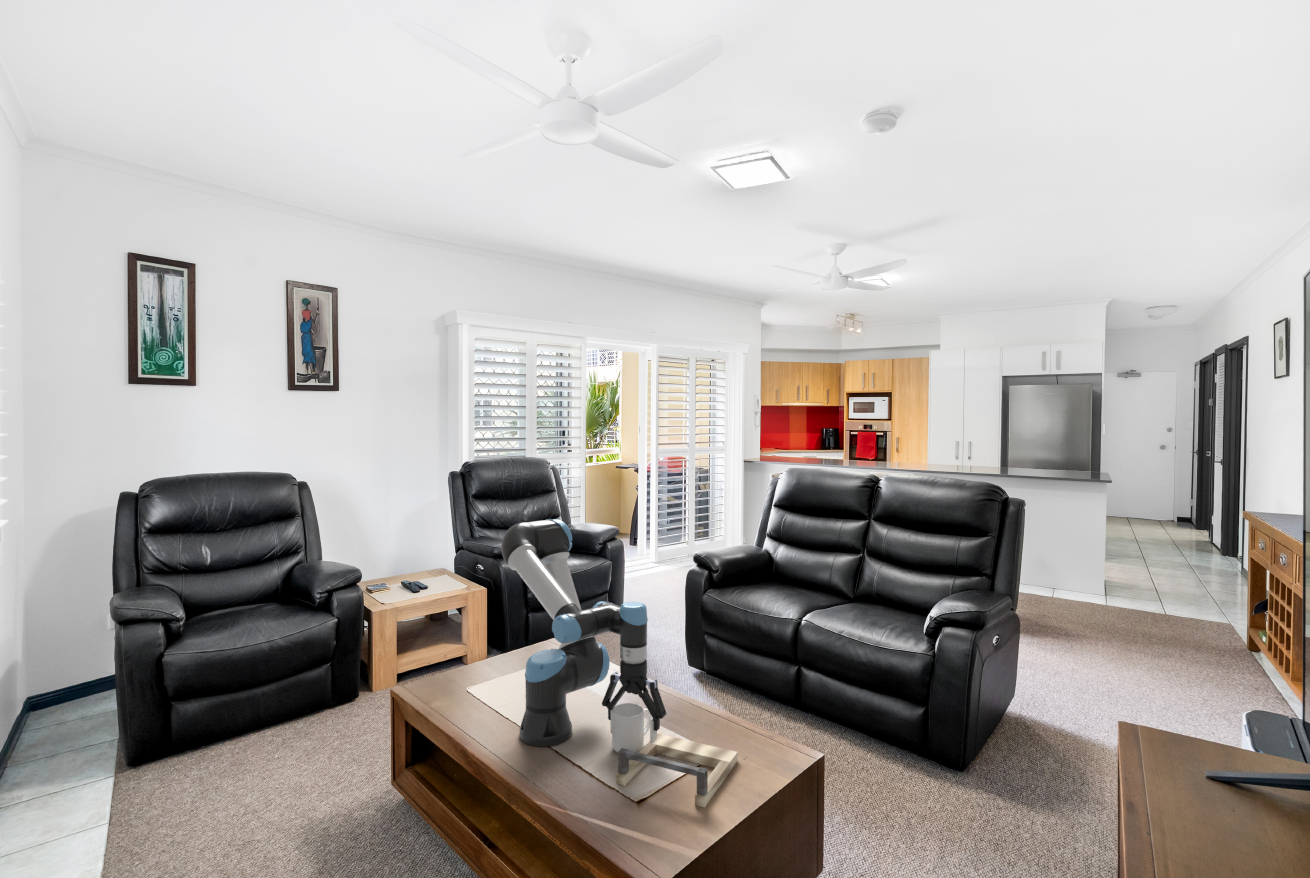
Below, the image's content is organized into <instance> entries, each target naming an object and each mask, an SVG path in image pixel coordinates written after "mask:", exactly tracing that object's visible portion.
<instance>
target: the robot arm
mask: <svg viewBox="0 0 1310 878" xmlns="http://www.w3.org/2000/svg"><path fill="white" fill-rule="evenodd" d="M572 541H573V535H572V532H571V530H570V528H569V526H568V525H567V524H566V522H564V521H562V520H561V519H557V518H556V519H555V518H554V519H552V518H547V519H545V520H543V519H541V520H534V521H533V520H532V521H527V522H525V521H523V522H519V523H515V524H514V525H511V526H510V527H509V528H508V529H507V530H506V532H505V533H504V535H503V538H502V540H501V546H500V547H501V549H500V550H501V554H502V558H503V560H504V562H505V563H506V566H508V568H509V569H511V570H512V571H516V572H517V574H518V575H519V576H520V578H521V579H522V580H523V582H524V583H525V584H526V586H527V587H528V588H529V590H530V591H531V592H532V593H533V595H534V597H535V598H536V599H537V600H538V602H539V603H540V604H541V605H542V607H543V608H544V610H545V611H546V612H547V613H548V615H549V616H550V618H551V619H552V620H553V621H552V625H551V631H552V633H553V636H554V639H555V640H556V641H557V642H558V643H560V645H559V647H558V648H551V649H543V650H540V651H537V652H535V653H533V654H532V655H531V656H529V657H528V659H527V661H526V663H525V673H524V677H525V711H524V714H523V717H522V720H521V724H520V726H519V739H520V741H521V742H523V744H526V745H529V746H532V747H541V748H542V747H551V746H556V745H559V743H560V744H562V743H564V742H566V741H567V740H569V739H570V738H571V736H572V735H571V734H573V724H572V723H573V722H572V721H571V718H570V715H569V712H568V708H567V694H570V693H574V692H576V691H579V690H582V689H586V688H588V687H592V686H596V685H597V684H598V683H601V682H602V681H604V680H605V679H606V677H607V676H608V673H609V670H610V656H609V655H610V654H609V652H608V649H607V648H606V647H605V645H604V644H603V643H601V642H597V640H596V637H595V636H598V635H601V634H606V633H613V634H617V635H619V639H620V641H619V647H620V648H619V649H620V650H619V652H620V653H619V654H620V657H619V658H620V663H619V665H620V666H619V671H620V672H619V673H620V674H619V673H618V672H617V671H615V672H614V673H612V674H610V676H609V684H608V686H607V688H606V692H605V694H604V697H603V699H602V702H601V706H603V707H606V708H607V719H608V721H610V734H611V735H612V714H613V708H614V707H615V706H616V705H618V702H619V701H620V699H621V698H623V695H624V694H625V693H627V694H633V695H638V697H639V699H641V700H642V702H643V703H644V705H645V708H647V709H648V710H649V712H650V714H651V718H650V728H649V731H650V733H649V734H650V735H649V742H650V743H652V744H653V743H654V742H655V741H656V740H657V734H658V731H659V730H660V728H661V727H660V726H661V720H662V719H664V718H665V716H666V715H667V710H666V709H665V705H664V703H663V700H662V696H661V693H660V690H659V688H658V684H659V682H658V679H653V680H649V679H648V676H647V674H648V660H647V658H648V621H649V619H648V611H647V605H646V604H644V603H643V602H639V601H627V602H624V603H621V604H620V605H618V604H614V603H612V602H610V601H598V602H597V603H595V604H594V605H593V606H592V607H591V608H587V609H582V607H581V605H580V600H579V597H578V594H577V591H576V588H575V583H574V581H573V580H574V579H573V577H572V574H571V571H570V567H569V564H568V559H569V557H570V555H571V554H570V551H571V549H572V547H573V543H572ZM618 682H620V684H621V687H620V688H619V689H618V691H617V692H616V694H615V695H614V696H613V694H614V692H615V689H616V687H617V685H618ZM647 686H648V687H647ZM649 691H650V692H649ZM612 697H613V698H612ZM570 735H571V736H570ZM569 737H570V738H569ZM568 738H569V739H568ZM565 740H566V741H565Z"/></svg>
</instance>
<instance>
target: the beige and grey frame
mask: <svg viewBox="0 0 1310 878" xmlns="http://www.w3.org/2000/svg"><path fill="white" fill-rule="evenodd" d="M656 753H659V754H658V755H660V754H662V756H664V755H666V757H669V756H670V757H669V758H673V757H674V759H677V760H681V759H682V760H681V761H685V760H687V761H686V762H689V761H691V762H690V763H693V762H695V763H694V764H697V763H699V764H698V765H701V766H706V767H709V768H714V769H713V770H712V771H711V773H710V774H709V773H708V768H705V767H697V766H695V765H694V766H693V765H690V764H686V763H682V762H678V761H673V760H670V759H665V758H662V757H657V756H654V755H657V754H656ZM738 758H739V756H738V751H735V750H731V749H727V748H722V747H718V746H714V745H710V744H704V743H701V742H696V741H692V740H687V739H682V738H680V737H674V736H671V735H666V734H662V733H657V740H656V741H655V742H654V743H653V744H652V743H650V741H648V742H647V743H646V744H645V745H643V748H642V749H641V750H640V751H639V752H634V751H630V750H628V749H624V748H621V749H620V750H619V751H618V753H617V765H618V766H617V772H616V776H615V778H616V779H615V781H616V784H617V785H620V786H624V787H625V786H626V785H628V783H629V782H630V781H631V780H633V778H635V776H636V775H637V774H638V773H639V772H640V771H641V770H642V769H643V768H644V767H645V766H646V765H650V766H656V767H659V768H662V769H668V770H669V771H670V770H671V771H675V772H680V773H682V774H687V775H690V776H695V777H696V793H694V806H696V807H701V808H704V809H706V806H707V805H708V804H709V802H710V801H711V799H712V798H713V797H714V796H715V794H716V793H717V791H718V790H719V788H720V787H721V785H722V784H723V783H724V781H725V779H726V778H727V777H728V775H729V774H730V773H731V772H732V770H733V768H734V767H735V766H736V764H737V763H738V761H739V760H738ZM645 764H646V765H645ZM708 774H709V775H708Z"/></svg>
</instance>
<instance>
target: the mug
mask: <svg viewBox="0 0 1310 878" xmlns="http://www.w3.org/2000/svg"><path fill="white" fill-rule="evenodd" d="M645 712H646V725H645ZM651 718H652V716H651V714H650V712H649V710H648V709H647V707H645V708H644V707H643V706H642V705H640V704H639V703H638V704H637V703H633V702H625V703H619V704H616V705H615V706H614V708H613V714H612V734H611V747H612V748H613V750H614V751H615V753H617V752H618V751H619V750H620V749H621V748H624V749H628V750H630V751H634V752H639V751H640V750H641V749H642V748H643V747H644V746H645V745H644V741H645V739H644V738H645V735H646V734H647V733H648V731H650V719H651Z"/></svg>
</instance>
